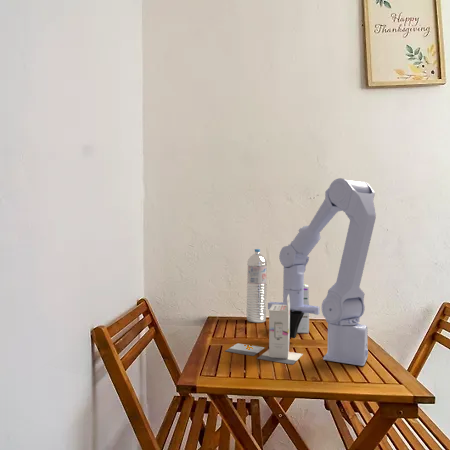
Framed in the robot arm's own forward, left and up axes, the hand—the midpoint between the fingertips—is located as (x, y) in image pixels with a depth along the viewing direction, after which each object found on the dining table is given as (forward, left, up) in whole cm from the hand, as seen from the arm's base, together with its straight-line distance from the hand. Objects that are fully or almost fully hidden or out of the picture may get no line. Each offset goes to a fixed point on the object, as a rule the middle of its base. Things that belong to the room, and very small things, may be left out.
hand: (292, 337), depth 111 cm
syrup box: (+2, -14, -2) cm, 14 cm away
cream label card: (-1, +14, -1) cm, 14 cm away
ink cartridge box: (0, +12, -2) cm, 12 cm away
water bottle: (+19, -20, -2) cm, 28 cm away
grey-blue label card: (+9, +13, -1) cm, 16 cm away
